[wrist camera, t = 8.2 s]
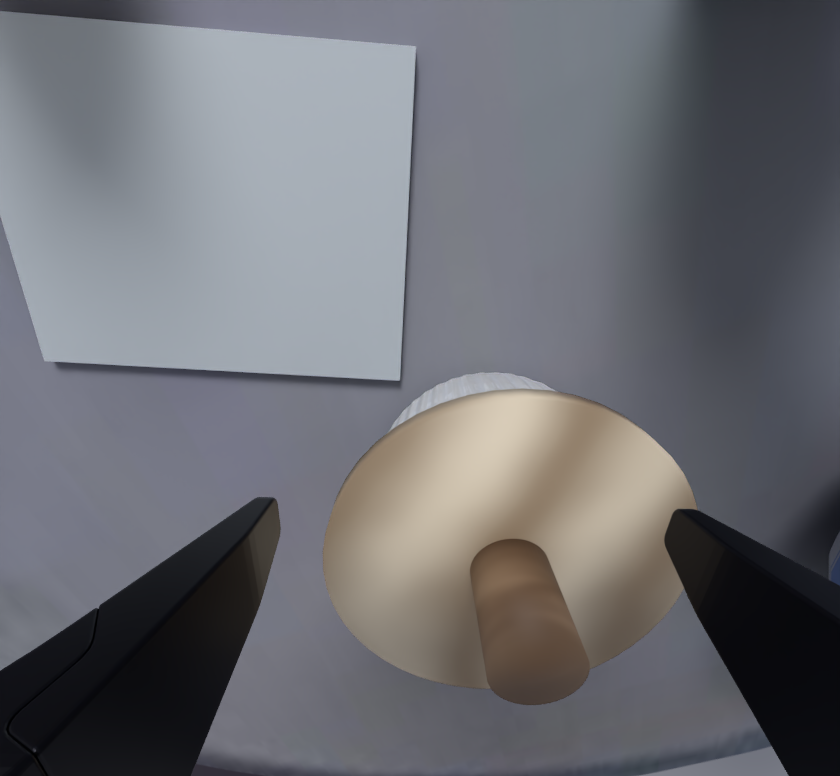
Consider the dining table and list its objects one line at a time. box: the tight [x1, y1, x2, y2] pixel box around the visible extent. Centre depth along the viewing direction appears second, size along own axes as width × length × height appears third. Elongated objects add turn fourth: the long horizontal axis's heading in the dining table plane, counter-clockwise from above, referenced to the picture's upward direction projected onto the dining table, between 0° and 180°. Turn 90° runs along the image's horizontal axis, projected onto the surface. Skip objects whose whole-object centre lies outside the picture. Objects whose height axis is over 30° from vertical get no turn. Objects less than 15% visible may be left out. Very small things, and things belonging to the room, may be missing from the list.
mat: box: [0, 11, 416, 381], centre depth 18 cm, size 18×14×1 cm
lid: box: [323, 388, 697, 705], centre depth 15 cm, size 15×15×5 cm
